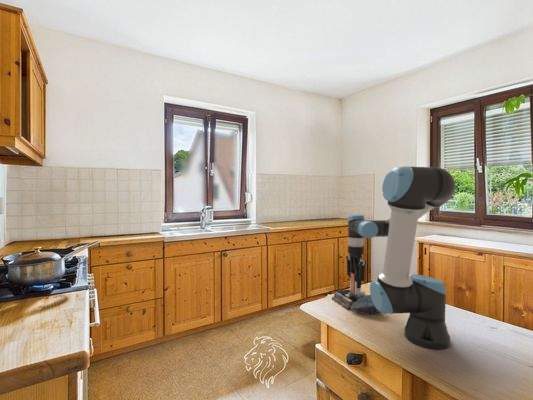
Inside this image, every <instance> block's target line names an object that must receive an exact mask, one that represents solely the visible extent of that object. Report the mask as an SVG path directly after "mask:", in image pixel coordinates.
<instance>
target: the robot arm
mask: <svg viewBox="0 0 533 400" xmlns="http://www.w3.org/2000/svg"><path fill="white" fill-rule="evenodd" d="M381 189H382V191H381V192H382V196H383V198H384V199H385V200H386V201H387V206H388V207H389V208H390V210H391V212H390V218H389V219H387V220H381V219H380V220H379V219H377V220H375V219H374V220H373V219H372V220H366V219H365V216H364V215H363V214H360V213H359V214H357V213H355V214H354V213H352V214H349V215H348V219H347V220H348V221H347V225H348V226H347V245H348V246H347V253H348V254H349V255H346V256H345V258H346V259H345V260H346V275H347V276H348V278H349V289H350V292H351V272H356V280H355V295H357V294H361V291H362V282H364V281H365V274H366V273H365V272H366V264H367V261H366V260H363V255H364V253H365V247H364V245H365V239H373V238H380V237H381V238H382V237H383V238H385V237H386V238H387V240H386V248H385V253H384V263H383V270H381V271H379V273H378V275H377V280H376V279H375V280H372V281H371V282H370V285H369V293H370V294H369V295H371V298H372V301H373V304H374V306H375V307H376V309H377V310H378V312H379V313H381V314H390V315H393V314H409V315H408V318H407V321H406V324H405V326H404V328H403V329H404V331H403V335H404V337H405V338H406V339H407V340H408V341H410V342H412V343H413V344H415V345H417V346H420V347H423V348H427V349H433V350H444V349H448V348H449V347H450V346H451V336H450V334H449V331H448V326H447V324H446V300H447V299H446V298H447V297H446V296H447V291H446V284H445V283H444V282H443V281H442V280H440V279H437V278H434V277H431V276H427V275H422V274H411V275H410V273H411V272H410V271H411V266H412V265H411V264H412V260H413V259H412V258H413V254H414V245H415V240H416V234H417V228H418V227H417V226H418V222H419V221H418V220H419V219H421V218H422V217H423V216H425V215H426V214H427V213H428V212H430V211H432V210H433V209H435V208H440V207H442V206H443V205H445V204H446V203H448V201H450V200H451V199H452V197H454V195H455V194H454V193H455V191H456V181H455V178H454V176H453V175H452V174H451V173H450V172H449V171H448V170H446V169H444V168H442V167H437V166H407V165H405V166H396V167H393V168H391V169H390V170H389V171H388V172H387V173H386V175H385V176H384V179H383V182H382V185H381Z"/></svg>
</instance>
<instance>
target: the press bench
mask: <svg viewBox="0 0 533 400" xmlns="http://www.w3.org/2000/svg"><path fill="white" fill-rule="evenodd" d="M348 293H351V292H350V288H349V289H340V290H337V291H334V292H333V296H331V300H332V301H334V302H335V303H337V304H338V305H340V306H341V307H343V309H345V310H347V311H353V310H352V309H351V306H352V304H353V302H352V300H350V299H348V298H347V297H345V295H346V294H348ZM366 295H367V294H366V293H365V296H366Z"/></svg>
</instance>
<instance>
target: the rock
mask: <svg viewBox="0 0 533 400" xmlns="http://www.w3.org/2000/svg"><path fill="white" fill-rule="evenodd" d="M351 309H352V310H351V311H355V312H358V313H361V314H367V315H375V314H377V313H378V312H379V311H378V310H377V309H376V307H375V306H374V304H373V301H372V298H371V294H366V296H362V297H361V298H360V299H358V300H357V301H356V302H354V303H353V304H352V306H351Z"/></svg>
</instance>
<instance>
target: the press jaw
mask: <svg viewBox="0 0 533 400" xmlns="http://www.w3.org/2000/svg"><path fill="white" fill-rule="evenodd" d="M355 280H356V272H351V293H348V294H346V295H345V297H347V298H348V299H350V300H352V302H353V303H354V302H356V301H357V300H358V299H360V298H361V297H362V296H365V294H366V291H364V290H363V291H362V290H361V294H357V295H355Z"/></svg>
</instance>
